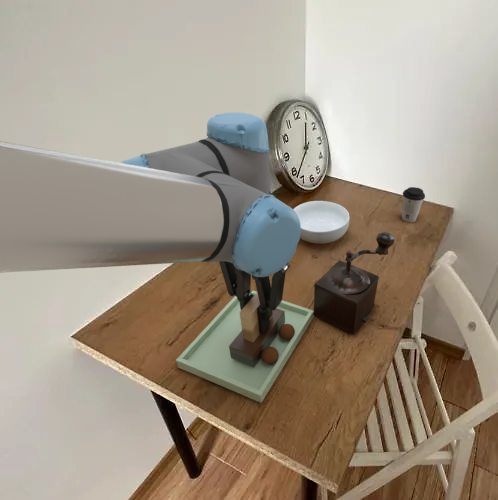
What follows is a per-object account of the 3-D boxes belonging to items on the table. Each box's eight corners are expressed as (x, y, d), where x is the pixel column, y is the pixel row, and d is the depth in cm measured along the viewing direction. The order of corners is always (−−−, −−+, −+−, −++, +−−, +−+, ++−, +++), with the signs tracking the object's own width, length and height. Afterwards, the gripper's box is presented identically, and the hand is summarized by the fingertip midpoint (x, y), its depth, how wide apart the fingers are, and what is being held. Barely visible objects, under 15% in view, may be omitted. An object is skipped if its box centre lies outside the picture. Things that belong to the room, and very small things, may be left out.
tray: (261, 403, 61) (260, 395, 60) (178, 367, 65) (175, 359, 64) (313, 318, 77) (313, 310, 76) (244, 294, 82) (243, 287, 81)
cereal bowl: (305, 215, 112) (305, 195, 108) (355, 228, 108) (357, 207, 104) (280, 243, 99) (279, 222, 95) (335, 258, 95) (337, 237, 91)
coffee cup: (406, 226, 111) (412, 197, 105) (393, 215, 116) (398, 187, 110) (424, 221, 114) (430, 193, 108) (410, 211, 119) (416, 184, 113)
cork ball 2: (283, 331, 68) (272, 334, 70) (294, 341, 69) (283, 344, 71) (289, 318, 70) (279, 322, 72) (300, 329, 72) (290, 332, 73)
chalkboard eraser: (253, 367, 65) (249, 329, 59) (230, 358, 66) (223, 319, 60) (285, 322, 74) (284, 285, 68) (264, 315, 75) (261, 277, 69)
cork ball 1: (263, 353, 64) (254, 357, 66) (275, 366, 64) (266, 369, 66) (273, 341, 66) (264, 345, 68) (284, 353, 67) (275, 357, 69)
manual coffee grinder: (355, 337, 74) (365, 271, 63) (312, 315, 78) (313, 249, 67) (386, 295, 85) (399, 232, 74) (346, 277, 89) (353, 216, 78)
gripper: (303, 221, 55) (302, 325, 69) (220, 199, 59) (235, 301, 73) (279, 247, 49) (284, 354, 63) (189, 220, 53) (212, 327, 67)
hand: (258, 326), depth 68 cm, fingers closed on chalkboard eraser, 2 cm apart
